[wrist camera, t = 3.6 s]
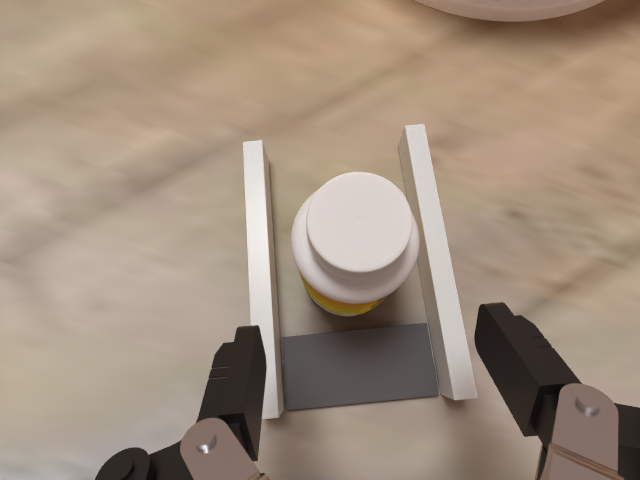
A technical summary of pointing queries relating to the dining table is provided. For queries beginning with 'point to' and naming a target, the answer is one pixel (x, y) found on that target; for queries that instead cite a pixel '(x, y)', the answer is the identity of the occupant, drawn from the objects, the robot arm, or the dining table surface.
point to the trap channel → (367, 344)
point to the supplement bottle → (354, 243)
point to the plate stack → (510, 8)
